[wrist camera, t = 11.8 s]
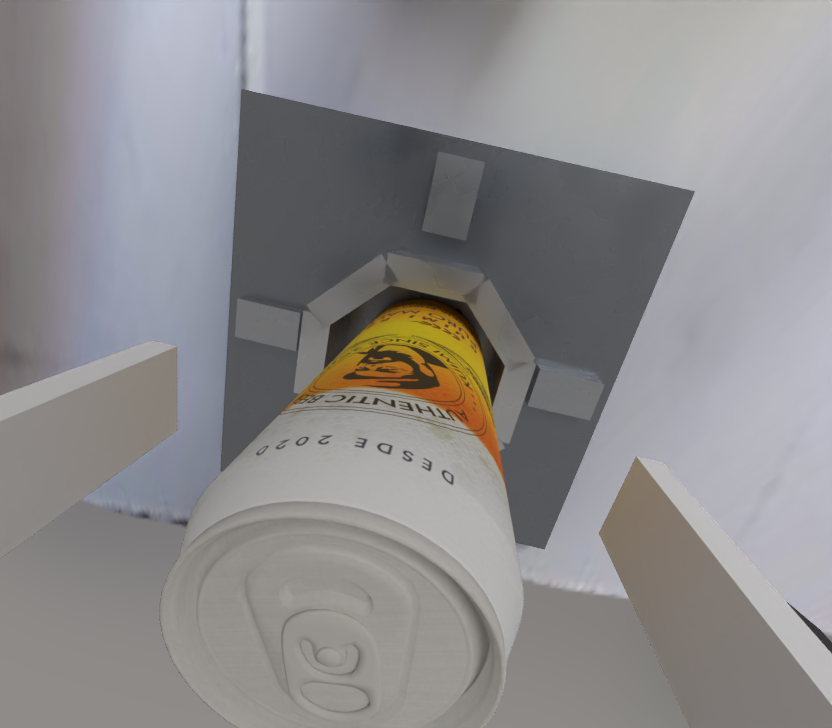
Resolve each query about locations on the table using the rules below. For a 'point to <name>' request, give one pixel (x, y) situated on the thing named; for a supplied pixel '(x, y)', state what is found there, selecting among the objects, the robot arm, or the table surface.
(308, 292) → the octagon ring plate
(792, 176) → the table surface
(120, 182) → the table surface
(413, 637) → the beer can
